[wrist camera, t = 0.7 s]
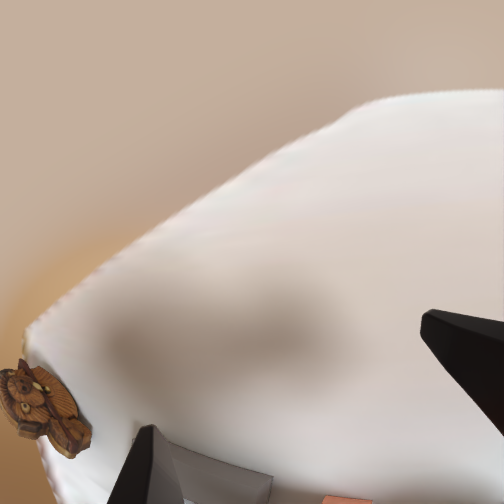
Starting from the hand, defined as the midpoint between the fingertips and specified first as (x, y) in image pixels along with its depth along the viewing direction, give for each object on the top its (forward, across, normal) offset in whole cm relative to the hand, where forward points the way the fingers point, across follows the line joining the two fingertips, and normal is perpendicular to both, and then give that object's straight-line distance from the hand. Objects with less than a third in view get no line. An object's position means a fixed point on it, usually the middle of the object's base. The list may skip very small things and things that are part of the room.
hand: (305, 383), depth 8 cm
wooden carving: (+22, +23, +17) cm, 36 cm away
